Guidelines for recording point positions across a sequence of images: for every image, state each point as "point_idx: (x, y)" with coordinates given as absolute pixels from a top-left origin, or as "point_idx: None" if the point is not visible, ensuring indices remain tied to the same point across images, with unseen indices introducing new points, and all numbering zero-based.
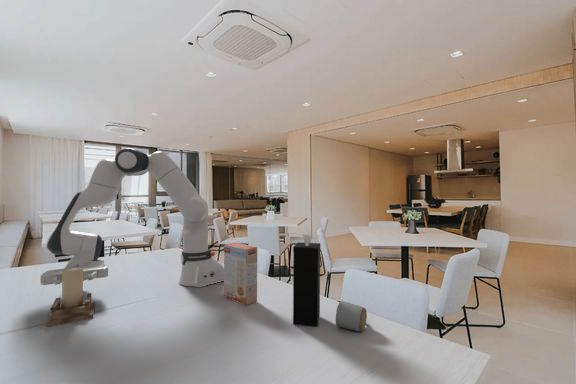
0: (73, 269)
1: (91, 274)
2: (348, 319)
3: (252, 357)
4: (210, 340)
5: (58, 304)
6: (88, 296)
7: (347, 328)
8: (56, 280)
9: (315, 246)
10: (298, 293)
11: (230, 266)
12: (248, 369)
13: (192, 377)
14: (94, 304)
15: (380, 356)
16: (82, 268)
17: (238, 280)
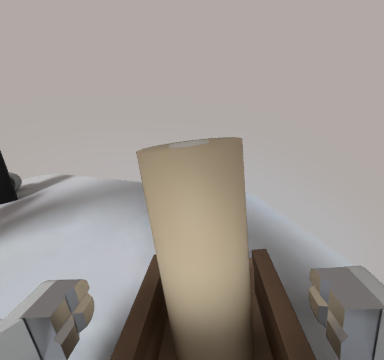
0: (184, 143)
1: (30, 309)
2: (18, 179)
3: (89, 185)
4: (85, 198)
5: (268, 308)
6: (141, 306)
7: (16, 189)
8: (340, 269)
9: None
10: (6, 168)
11: None
12: (103, 181)
13: (130, 181)
14: None
15: (50, 180)
16: (137, 151)
17: None
